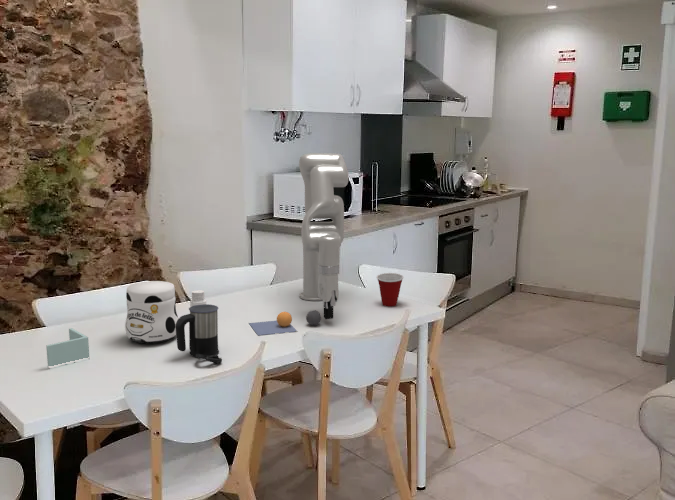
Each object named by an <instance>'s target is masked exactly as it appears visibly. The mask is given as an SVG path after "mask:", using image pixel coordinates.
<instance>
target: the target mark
mask: <svg viewBox="0 0 675 500" xmlns="http://www.w3.org/2000/svg"><path fill="white" fill-rule="evenodd" d="M248 325H250V327H251V328H252V330H253V332H255V333H256V335H257V336H259V337H260V336H267V335H276V334H275V333H279V334H286V333H285V332H289V333H296V332H295V331H297V332H298V330H297V329H296V328H295V327H294V326H293V325H292V323H291V324H290V325H289V326H287V327H282V326H280V325H279V324H278V323H277V320H269V321H258V322H250V323H249V322H248Z"/></svg>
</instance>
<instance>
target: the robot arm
mask: <svg viewBox="0 0 675 500" xmlns="http://www.w3.org/2000/svg"><path fill="white" fill-rule="evenodd" d="M298 165H299V172H300V174H301V177H302V180H303V183H304V214H305V215H304V216H303V218H302V223H301V229H300V230H301V231H300V234H301V235H300V237H301V243H302V253H303V257H302V261H303V265H302V266H303V267H302V273H303V274H302V275H303V277H302V291H301V292H300V293H299V298H300V299H302V300H305V301H314V302H315V301H317V302H319V301H323V302H322V304H323V318H324V319H325V320H332V319H334V308H335V306H336V302H338V300H339V275H340V258H341V257H340V251H341V249H340V248H341V246H342V243H343V242H344V238H345V207H344V206H345V205H344V200H343V198H342V197H341V196H340V195H336V194H334V193H335V192H334V191H335V190H334V188H345V187H346V186H347V185H348V183H349V178H350V177H349V171H348V167H347V163H346V161H345V159H344V156H343V155H342V154H340V153H335V152H334V153H333V152H327V153H325V152H312V153H311V152H310V153H305V154H302V155H301V156H300V157H299V160H298ZM312 219H313V220H314V219H316V220H318V219H319V220H321V219H322V220H323V219H325V220H327V219H328V220H329V219H331V220H332V221H312Z"/></svg>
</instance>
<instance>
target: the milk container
mask: <svg viewBox="0 0 675 500" xmlns="http://www.w3.org/2000/svg"><path fill="white" fill-rule="evenodd" d="M126 287H127V288H126V294H125V295H126V297H125V298H126V310H127V312H126V313H127V314H126V318H125V322H124V328H125V329H124V330H125V335H126V337H127V338H128V339H129V340H130V341H132V342H134V343H139V344H159V343H163V342H167V341H169V340H171V339H173V338H174V337H176V322H177V320H178V319H179V317H178V316H179V315H178V313H177V309H176V307H177V306H176V289H175V288H176V287H175V284H174V283H172V282H169V281H161V280H151V281H149V280H147V281H139V282H136V283H135V282H134V283H132V284H129V285H128V286H126Z"/></svg>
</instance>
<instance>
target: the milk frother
mask: <svg viewBox="0 0 675 500" xmlns="http://www.w3.org/2000/svg"><path fill="white" fill-rule="evenodd" d="M188 310H189V313H187V314H184V315H183V314H182V315H181V316H179V317H178V320H177V322H176V336H175V337H176V347H177V350H178V351H180V352H185V351H186V348H187V347H186V333H185V332H186V331H185V327H186V325H187V324H188V325H189V327H188V329H189V330H188V331H189V332H188V333H189V335H188V336H189V337H188V338H189V341H188V342H189V345H188V346H189V347H188V348H189V353H188V354H189V355H190V356H192V357H194V358H198V359H201V360H205V361H208V362H209V363H212V364H215V365H217V364H218V363H222V362H223V359H222V357H220V356H219V355H218V354H219V353H220V350H219V336H218V334H219V330H218V329H219V328H218V327H219V324H218V323H219V322H218V319H219V318H218V316H219V315H218V314H219V313H218V310H219V306H217V305H214V304H207V303H206V304H203V305H195V306H192V307H188Z"/></svg>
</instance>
